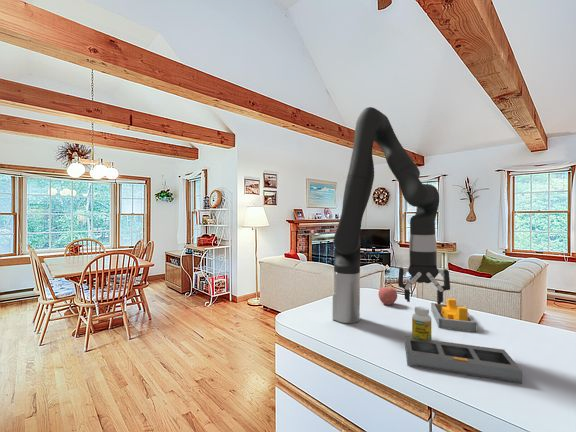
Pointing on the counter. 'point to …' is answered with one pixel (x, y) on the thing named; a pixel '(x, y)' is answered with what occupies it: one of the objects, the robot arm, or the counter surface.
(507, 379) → the three-compartment grey tray
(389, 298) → the apple
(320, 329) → the counter surface
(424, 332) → the supplement bottle
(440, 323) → the clamp tray
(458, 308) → the pipe clamp
